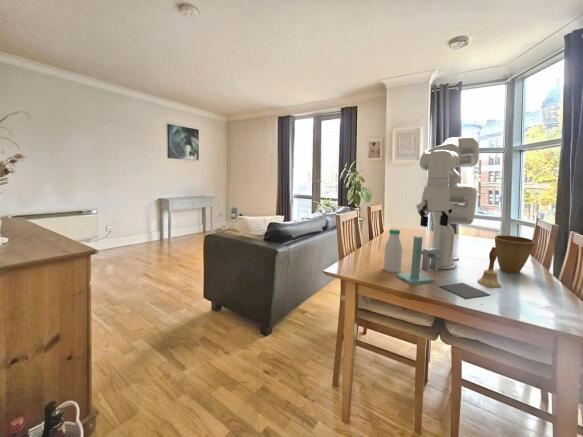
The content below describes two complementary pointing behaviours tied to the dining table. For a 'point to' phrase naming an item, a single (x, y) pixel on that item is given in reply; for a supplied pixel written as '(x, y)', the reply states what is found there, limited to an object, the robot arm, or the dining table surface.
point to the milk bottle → (393, 252)
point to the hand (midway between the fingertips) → (433, 225)
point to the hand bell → (490, 272)
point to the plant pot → (512, 252)
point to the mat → (464, 290)
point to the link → (426, 259)
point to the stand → (417, 265)
